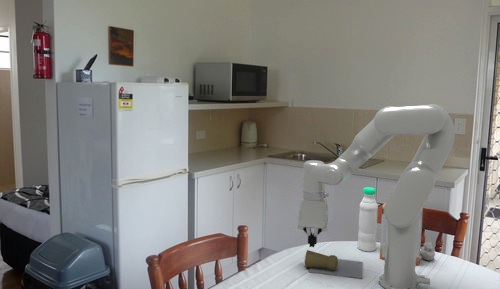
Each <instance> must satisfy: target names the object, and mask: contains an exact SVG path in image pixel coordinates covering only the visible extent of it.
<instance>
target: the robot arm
mask: <svg viewBox="0 0 500 289" xmlns="http://www.w3.org/2000/svg"><path fill="white" fill-rule="evenodd" d="M415 135H416V136H418V135H421V136H423V135H424V136H423V139H422V141H421V143H420V144H419V147H418V148H417V151H416V153H415V155H414V156H413V158H412V159H411V161H410V162H409V164H408V165H407V166H406V167H405V169H404V170H403V172H402V173H401V175H400V177H399V178H398V181H396V184H395V186H394V188H393V190H392V192H391V193H390V194H389V197H388V199H387V201H386V202H385V203H386V204H385V206H384V216H385V219H386V220H387V230H386V246H385V259H384V264H383V265H384V268H383V274H381V275H379V277H378V283H379V285H380V286H381V287H382V288H384V289H420V284H423V285H431V278H428V277H426V275H419V274H418V273H416V265H415V263H416V248H417V236H418V224H419V214H420V211H421V209H422V207H423V208H424V205H425V204H426V202H427V200H428V199H429V197H430V195H431V193H432V191H433V190H434V187H435V184H436V181H437V178H438V176H439V173H440V171H441V170H442V167H443V166H444V164H445V163H446V161H447V158H448V157H449V154H450V153H451V151H452V149H453V146H454V142H455V137H456V129H455V125H454V122H453V120H452V118H451V116H450V115H449V113H448V111H446V109H445V108H443V107H442V106H441V105H439V104H435V103H430V104H425V105H423V104H422V105H414V106H413V105H411V106H409V105H408V106H395V105H394V106H393V105H388V106H385V107H382V108H381V109H379V110H378V111H377V112H376V113H375V115H374V117H373V119H371V121H370V122H369V123H368V124H366V125H365V126H364V128H362V129H361V130H360V131H359V133H357V134H356V135H355V137H354V138H353V140H352V142H351V144H350V145H349V146H348V147H347V148H346V149H345V151H344V152H342V153H341V154H340V155H339V156H338V157H337V158H336V159H335V160H334V161H332V162H329V163H325V162H324V161H321V160H313V159H312V160H306V161H305V162H304V163H303V169H302V170H303V171H302V173H303V174H302V176H303V178H302V181H303V182H302V197H301V198H300V203H299V208H298V216H297V222H298V223H297V229H298V230H301V231H304V233H305V234H306V235H307V244H308V245H309V247H310V248H315V245H317V243H318V235H319V234H321V233H324V232H328V230H329V227H328V223H329V215H328V214H329V212H328V210H329V208H328V201H327V199H326V198H329V197H330V196H329V193H327V192H326V191H325V187H326V185H328V186H338V185H340V184H342V183H343V182H344V181H345V180H347V179H349V177H350V176H352V175H353V173H355V172H356V171H357V170H358V169H359V168H360V167H361V166H362V165H363V164H364V163H366V162H367V161H368V160H369V159H370V158H372V157H374V155H375V154H377V153H378V152H379V151H380V150H381V149H382V148H383V147H384V146H385V145H387V143H388V142H390V140H391V139H393V138H394V137H395V136H415ZM312 229H314V232H312Z"/></svg>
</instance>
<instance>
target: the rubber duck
mask: <svg viewBox="0 0 500 289" xmlns="http://www.w3.org/2000/svg"><path fill="white" fill-rule="evenodd" d="M433 248H434V246H433V244H432V242H431V241H430V240H428V241H425V242H424V244H423V246H421V249H420V258H422V259H423V260H424V261H425V260H426V261H431V260H434V258H435V256H436V254H435V251H434V250H433Z"/></svg>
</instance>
